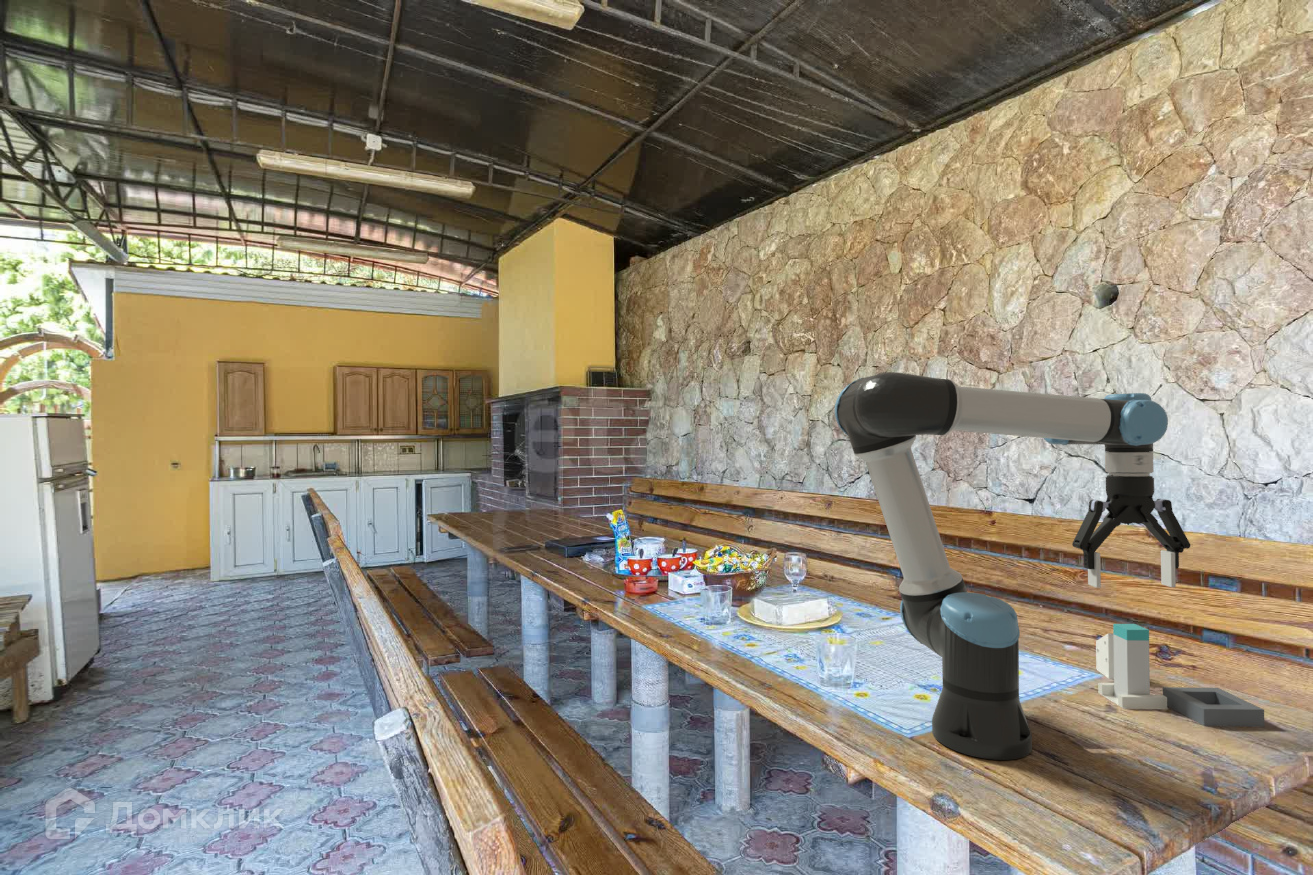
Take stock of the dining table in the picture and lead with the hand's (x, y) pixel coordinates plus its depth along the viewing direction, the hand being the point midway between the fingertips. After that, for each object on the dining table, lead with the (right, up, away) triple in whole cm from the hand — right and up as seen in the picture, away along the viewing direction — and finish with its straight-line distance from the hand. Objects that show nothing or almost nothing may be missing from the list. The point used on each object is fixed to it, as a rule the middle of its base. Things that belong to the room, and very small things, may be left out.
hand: (1131, 586), depth 126 cm
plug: (0, -22, 0) cm, 22 cm away
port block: (+10, -22, -7) cm, 25 cm away
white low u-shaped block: (0, -22, 0) cm, 22 cm away
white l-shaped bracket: (+6, -23, +14) cm, 27 cm away
